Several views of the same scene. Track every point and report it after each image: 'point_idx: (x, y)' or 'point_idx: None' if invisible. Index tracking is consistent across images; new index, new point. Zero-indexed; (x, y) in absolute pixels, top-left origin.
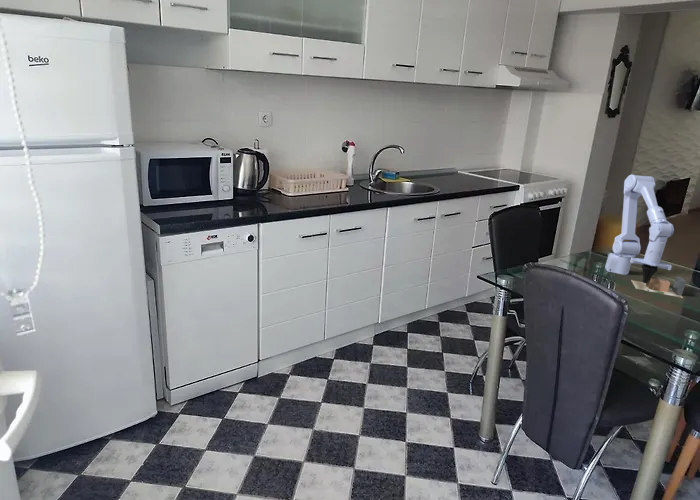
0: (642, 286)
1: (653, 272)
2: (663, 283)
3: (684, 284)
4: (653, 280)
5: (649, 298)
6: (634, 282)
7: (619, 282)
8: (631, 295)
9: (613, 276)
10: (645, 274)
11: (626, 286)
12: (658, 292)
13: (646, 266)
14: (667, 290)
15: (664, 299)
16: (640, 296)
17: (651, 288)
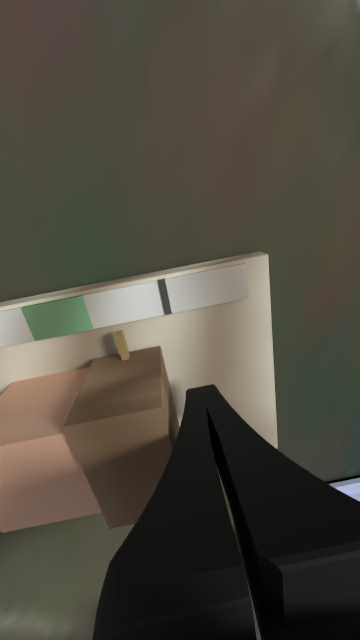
0: (206, 365)
1: (166, 514)
2: (28, 426)
3: None
4: (136, 403)
5: (141, 123)
6: (259, 413)
7: (345, 377)
8: (314, 62)
9: (356, 461)
10: (257, 443)
11: (310, 326)
12: (73, 297)
13: (352, 633)
14: (7, 391)
15: (14, 225)
16: (224, 114)
17: (138, 351)
